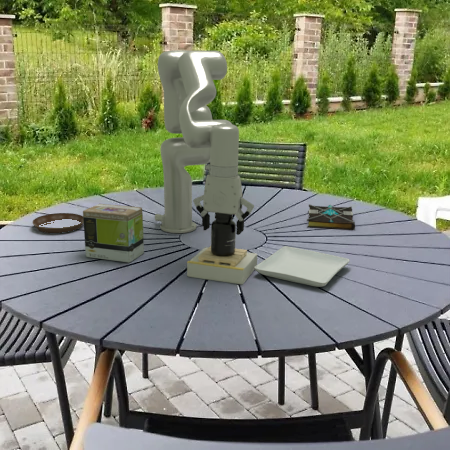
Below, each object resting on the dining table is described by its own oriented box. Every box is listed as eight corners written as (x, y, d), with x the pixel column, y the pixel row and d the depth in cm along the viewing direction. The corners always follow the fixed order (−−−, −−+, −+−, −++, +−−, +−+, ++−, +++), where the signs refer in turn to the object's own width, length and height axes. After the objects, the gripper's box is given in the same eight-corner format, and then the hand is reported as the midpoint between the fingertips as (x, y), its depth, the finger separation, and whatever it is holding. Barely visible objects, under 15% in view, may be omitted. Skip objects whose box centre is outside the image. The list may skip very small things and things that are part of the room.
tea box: (145, 253, 177) (143, 206, 172) (129, 264, 168) (127, 215, 163) (102, 247, 181) (99, 201, 177) (84, 257, 172) (81, 210, 168)
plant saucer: (89, 232, 196) (88, 224, 195) (35, 238, 190) (34, 229, 189) (81, 219, 212) (81, 211, 211) (31, 223, 205) (30, 215, 204)
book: (354, 232, 201) (355, 218, 200) (306, 229, 204) (306, 215, 202) (351, 215, 222) (352, 202, 220) (307, 212, 224) (308, 200, 223)
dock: (187, 276, 159) (187, 257, 157) (205, 259, 172) (205, 242, 170) (242, 284, 154) (242, 265, 152) (256, 266, 167) (257, 248, 165)
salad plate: (325, 294, 149) (325, 282, 148) (252, 278, 159) (252, 266, 158) (350, 269, 167) (351, 258, 166) (283, 255, 177) (284, 245, 176)
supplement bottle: (232, 258, 157) (233, 216, 154) (208, 256, 159) (208, 214, 155) (237, 250, 164) (238, 209, 160) (213, 248, 165) (214, 207, 162)
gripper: (188, 170, 154) (188, 231, 159) (250, 177, 148) (248, 239, 154) (199, 165, 160) (198, 223, 166) (258, 171, 155) (256, 231, 160)
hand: (222, 231), depth 160 cm, fingers open, 9 cm apart
